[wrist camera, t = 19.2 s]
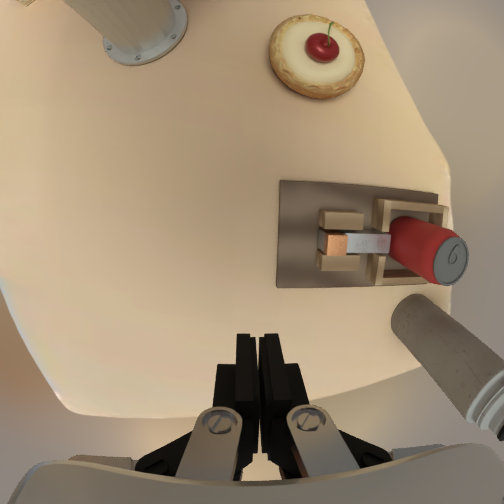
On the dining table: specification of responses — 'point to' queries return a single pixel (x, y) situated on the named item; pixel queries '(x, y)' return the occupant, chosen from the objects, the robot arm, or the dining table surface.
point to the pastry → (316, 56)
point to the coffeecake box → (25, 2)
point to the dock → (308, 230)
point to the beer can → (428, 250)
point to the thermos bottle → (454, 361)
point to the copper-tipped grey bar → (353, 241)
